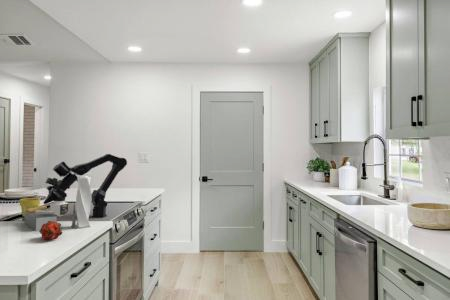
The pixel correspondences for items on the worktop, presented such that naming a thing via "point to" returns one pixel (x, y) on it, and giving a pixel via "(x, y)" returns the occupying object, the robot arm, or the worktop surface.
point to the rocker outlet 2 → (44, 212)
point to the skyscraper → (82, 203)
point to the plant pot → (28, 204)
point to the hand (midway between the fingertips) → (44, 203)
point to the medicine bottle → (59, 207)
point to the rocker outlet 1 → (37, 208)
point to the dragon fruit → (51, 230)
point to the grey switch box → (38, 219)
